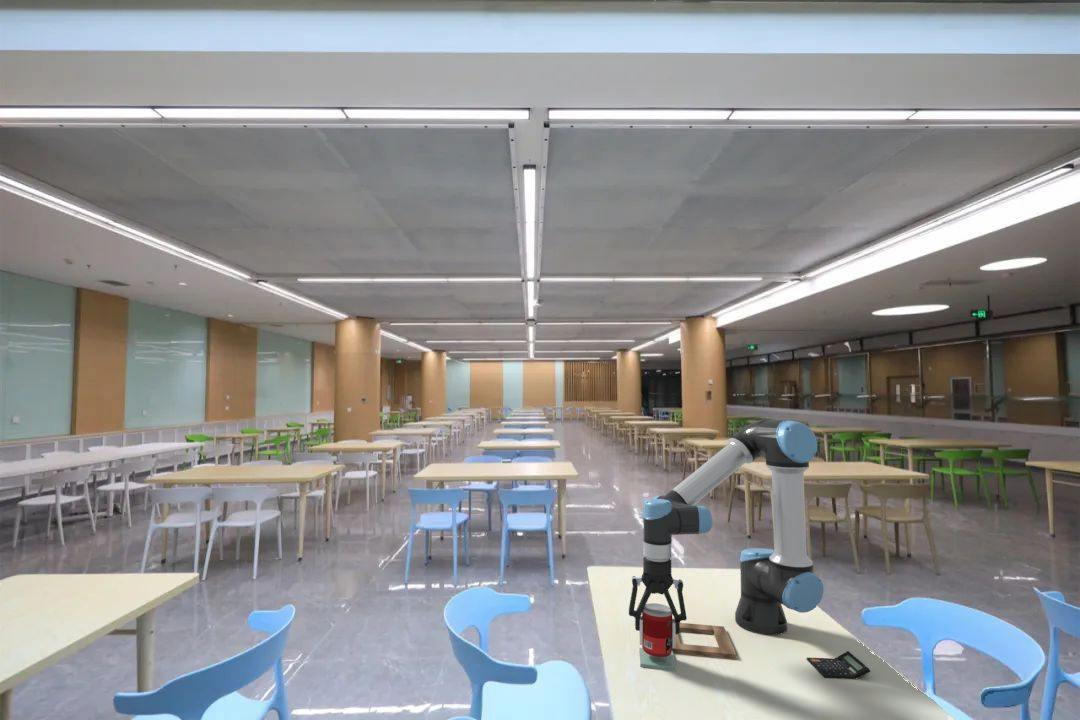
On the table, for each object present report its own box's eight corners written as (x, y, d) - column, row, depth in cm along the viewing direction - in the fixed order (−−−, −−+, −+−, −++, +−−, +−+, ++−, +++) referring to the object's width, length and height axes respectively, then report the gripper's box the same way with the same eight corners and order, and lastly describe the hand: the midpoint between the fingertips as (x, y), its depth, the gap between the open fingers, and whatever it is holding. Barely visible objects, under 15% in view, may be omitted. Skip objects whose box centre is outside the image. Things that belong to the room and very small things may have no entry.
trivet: (672, 653, 142) (672, 650, 142) (675, 670, 134) (675, 667, 134) (639, 650, 144) (639, 647, 144) (640, 666, 135) (640, 663, 135)
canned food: (673, 659, 134) (673, 615, 135) (641, 655, 136) (642, 612, 137) (671, 645, 142) (671, 604, 143) (642, 642, 144) (642, 601, 144)
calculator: (806, 660, 141) (806, 649, 141) (850, 662, 141) (849, 650, 141) (824, 679, 132) (824, 666, 132) (870, 680, 131) (870, 668, 131)
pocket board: (723, 630, 158) (723, 626, 158) (736, 659, 140) (736, 654, 140) (663, 625, 161) (663, 621, 161) (668, 652, 143) (668, 648, 143)
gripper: (694, 556, 143) (694, 641, 141) (619, 551, 146) (618, 634, 144) (698, 564, 136) (698, 654, 134) (618, 559, 139) (618, 647, 137)
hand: (657, 644), depth 139 cm, fingers closed on canned food, 8 cm apart
